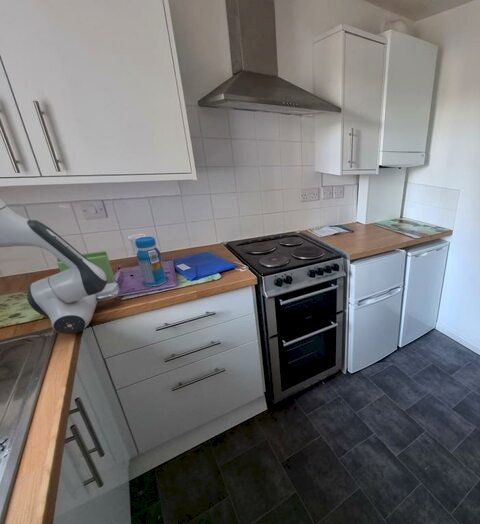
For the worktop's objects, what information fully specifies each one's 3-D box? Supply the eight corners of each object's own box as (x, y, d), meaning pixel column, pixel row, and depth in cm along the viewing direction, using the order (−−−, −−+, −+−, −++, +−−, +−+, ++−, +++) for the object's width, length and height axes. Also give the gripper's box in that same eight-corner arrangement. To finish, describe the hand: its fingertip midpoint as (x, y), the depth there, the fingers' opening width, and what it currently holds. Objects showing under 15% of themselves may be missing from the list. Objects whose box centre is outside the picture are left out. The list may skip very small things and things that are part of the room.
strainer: (144, 265, 147) (136, 236, 141) (131, 264, 148) (123, 235, 142) (155, 260, 153) (148, 232, 148) (143, 259, 154) (135, 231, 149)
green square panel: (70, 299, 115) (55, 260, 109) (73, 294, 119) (58, 255, 113) (116, 291, 122) (104, 253, 116) (117, 286, 126) (106, 249, 120)
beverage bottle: (142, 288, 124) (129, 242, 117) (147, 280, 132) (135, 236, 124) (165, 285, 127) (153, 240, 119) (169, 277, 134) (158, 235, 127)
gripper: (115, 287, 105) (118, 273, 116) (35, 302, 95) (47, 285, 106) (120, 303, 107) (123, 288, 118) (43, 319, 97) (54, 301, 108)
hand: (87, 287), depth 112 cm, fingers closed on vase, 7 cm apart
